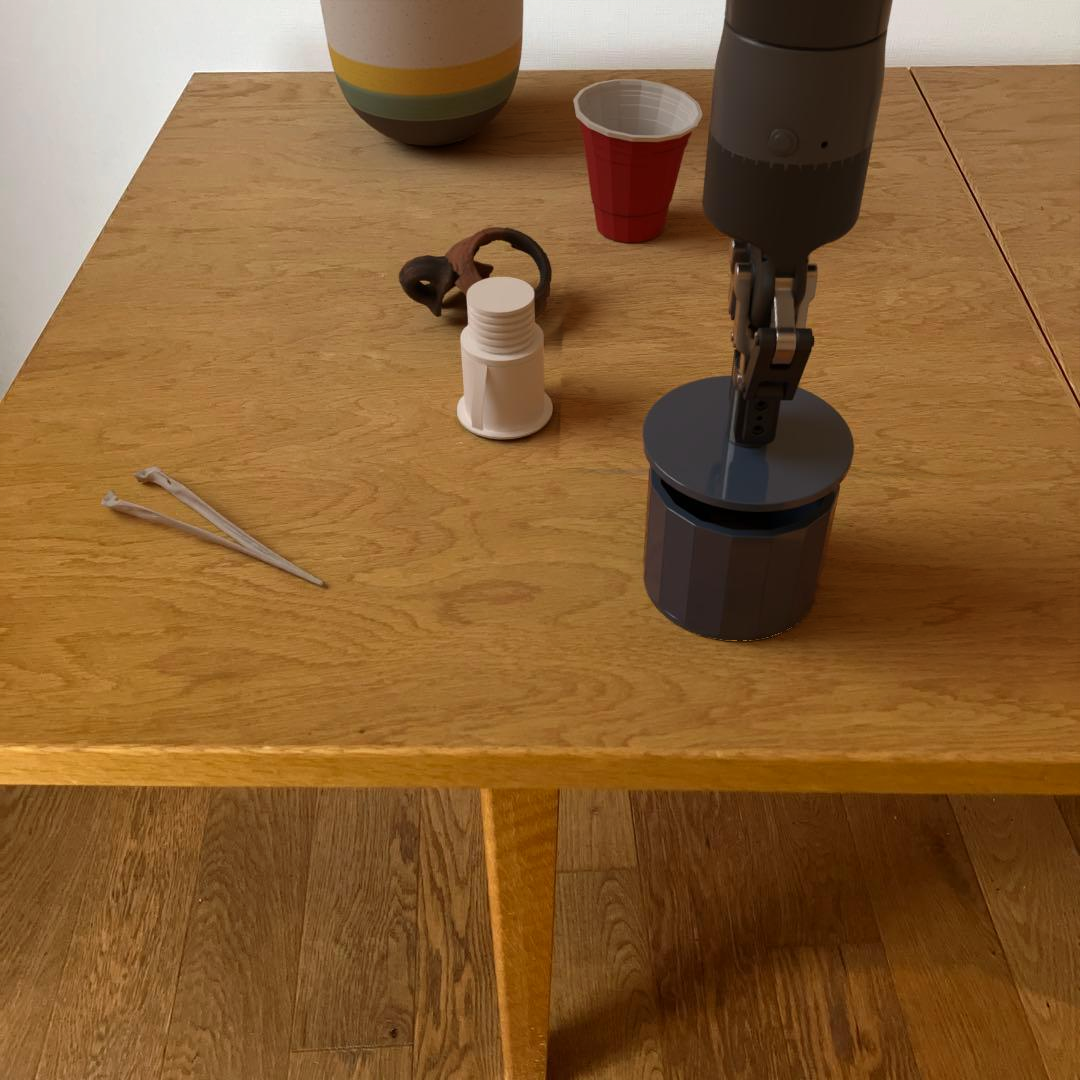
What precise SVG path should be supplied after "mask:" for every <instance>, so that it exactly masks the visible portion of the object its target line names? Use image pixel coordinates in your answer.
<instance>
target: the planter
mask: <svg viewBox="0 0 1080 1080" xmlns="http://www.w3.org/2000/svg"><path fill="white" fill-rule="evenodd" d="M319 3H320V9H321V15H322V20H323V26H324V32H325V37H326V43H327V49H328V52H329V57H330V62H331V66H332V69H333V72H334V75H335V78H336V81H337V84H338V86H339V88H340V90H341V93H342V94H343V97H344V98H345V100H346V102H347V103H348V104H349V106H350V107H351V109H352V110H353V112H354V113H355V114H356V115H357V116H358V117H359V118H361V120H363V122H365V123H366V124H367V125H368V126H370V127H371V128H372V129H374V130H376V131H377V132H378V133H380V134H382V135H384V136H385V137H387V138H389V139H392V140H394V141H397V142H400V143H402V144H403V143H404V144H408V145H413V146H425V147H432V146H444V145H449V144H454V143H457V142H460V141H462V140H465V139H468V138H469V137H472V136H473V135H476V134H477V133H478V132H480V131H481V130H482V129H484V128H485V127H486V126H488V125H489V124H490V123H491V122H492V121H493V120H494V119H495V118H496V117H497V116H498V115H499V114H500V113H501V112H502V111H503V109H504V108H505V106H506V105H507V104H508V102H509V100H510V98H511V96H512V94H513V91H514V89H515V86H516V83H517V79H518V75H519V71H520V66H521V60H522V52H523V40H524V39H523V38H524V37H523V35H524V0H319Z"/></svg>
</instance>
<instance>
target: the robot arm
mask: <svg viewBox="0 0 1080 1080" xmlns="http://www.w3.org/2000/svg"><path fill="white" fill-rule="evenodd" d="M893 2H894V0H725V7H724V9H725V10H724V19H723V26H722V31H721V37H720V41H719V45H718V49H717V53H716V57H715V63H714V71H713V78H712V89H711V90H712V91H711V100H710V101H711V102H710V111H709V123H708V131H707V132H708V133H707V146H706V155H705V168H704V177H703V178H704V179H703V189H702V198H701V199H702V200H701V201H702V204H701V205H702V209H703V213H704V215H705V218H706V219H707V220H708V222H709V223H710V225H712V226H713V227H714V228H715V229H716V230H717V231H719V232H720V233H721V234H723V235H725V236H727V237H728V238H730V241H729V248H728V249H729V250H728V260H729V268H730V269H729V270H730V280H729V287H728V293H727V302H728V314H729V315H730V321H733V324H732V331H730V337H729V340H730V342H731V343H732V344H731V345H732V348H733V357H732V368H731V373H730V375H731V382H730V391H729V403H730V396H731V388H732V380H733V371H734V363H735V360H736V359H737V357H738V356H740V355H741V359H740V369H739V373H737V383H739V388H738V396H737V404H736V412H735V420H734V428H733V431H734V438H735V440H736V442H738V443H740V444H769V443H771V442H772V441H773V440H774V439H775V435H776V428H777V422H778V415H779V409H780V402H781V400H793V398H794V395H795V393H796V390H797V387H799V385H800V382H801V379H802V377H803V374H804V371H805V369H806V366H807V363H808V361H809V358H810V356H811V353H812V351H813V350H812V349H813V347H815V335H813V329H812V328H811V327H807V319H808V311H809V305H810V303H811V302H812V301H813V300H814V299H815V296H816V290H817V284H818V272H819V269H818V264H817V263H816V262H815V263H814V262H810V258H811V254H812V253H813V252H815V251H816V250H817V249H819V248H821V247H823V246H825V245H827V244H831V243H834V242H836V241H838V240H840V239H842V238H843V237H845V235H846V236H847V234H849V232H850V231H852V229H853V228H854V227H855V225H856V224H857V223H858V220H859V216H860V213H861V207H862V201H863V196H864V191H865V190H864V189H865V185H866V181H867V180H866V179H867V175H868V170H869V164H870V160H871V159H870V158H871V153H872V148H873V144H874V143H873V142H874V138H875V137H874V136H875V130H876V126H877V121H878V115H879V110H880V104H881V100H882V95H883V90H884V89H883V88H884V81H885V70H886V69H885V68H886V50H887V49H886V47H887V37H888V31H889V30H888V27H889V23H890V19H891V13H892V8H893Z"/></svg>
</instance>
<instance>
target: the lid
mask: <svg viewBox="0 0 1080 1080" xmlns="http://www.w3.org/2000/svg"><path fill="white" fill-rule="evenodd" d="M740 359H741V355H740V356H738V357H737V359H736V360H735V363H734V371H733V380H732V388H731V396H730V403H729V391H730V382H731V374H730V375H717V376H710V377H705V378H699V379H696V380H693V381H689V382H687V383H684V384H682V385H679V386H678V387H675V388H673V389H671V390H670V391H668V392H666V393H665V394H664V395H662V396H661V397H660V398H659V399H658V400H656V402H655V403H654V404H653V405H652V406H651V408H650V409H649V410H648V412H647V414H646V415H645V418H644V421H643V425H642V433H641V434H642V435H641V436H642V437H641V444H642V450H643V453H644V455H645V458H646V460H647V462H648V463H649V464H650V465H651V467H652V468H653V469H654V471H655V472H656V473H657V474H658V475H659V476H660V477H661V478H662V479H663V480H664V481H665V482H666V483H668V484H669V485H670V486H672V487H673V488H675V489H676V490H678V491H680V492H681V493H683V494H685V495H687V496H689V497H691V498H693V499H696V500H698V501H700V502H704V503H707V504H710V505H713V506H717V507H721V508H726V509H731V510H738V511H750V512H770V511H779V510H787V509H791V508H796V507H800V506H803V505H806V504H809V503H812V502H814V501H816V500H818V499H820V498H822V497H824V496H825V495H827V494H829V493H830V492H832V491H833V490H834V489H835V488H836V487H837V486H838V485H839V484H840V485H841V484H842V482H843V481H844V480H845V478H846V477H847V475H848V474H849V472H850V470H851V467H852V464H853V459H854V456H855V442H854V437H853V434H852V431H851V429H850V426H849V425H848V423H847V421H846V420H845V418H844V417H843V416H842V415H841V414H840V412H839V411H838V410H836V408H835V407H833V406H832V404H829V402H827V401H826V400H824V399H823V398H821V397H820V396H818V395H816V394H815V393H813V392H811V391H809V390H806V389H805V388H802V387H800V386H798V387H797V390H796V393H795V395H794V398H793V400H781V402H780V409H779V415H778V422H777V428H776V435H775V439H774V440H773V441H772V442H771V443H769V444H740V443H738V442H736V440H735V438H734V431H733V428H734V420H735V412H736V404H737V396H738V388H739V383H737V373H739V369H740Z"/></svg>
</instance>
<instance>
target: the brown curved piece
mask: <svg viewBox="0 0 1080 1080" xmlns="http://www.w3.org/2000/svg"><path fill="white" fill-rule="evenodd" d="M495 241H502V242H506V243H509V244H510V245H511V246H510V248H512V249H515V250H517V251H520V252H523V253H525V254H527V255H528V256H529V257H531V258H532V260H533V261H534V263H535V264H536V267H537V269H538V271H539V283H538V284H537V286H536V288H534V289H533V290H534V308H535V321H536V320H538V319H539V317H541V315H542V314H543V313H544V311H545V310H546V308H547V307H548V305H549V304H548V298H550V296H551V282H552V280H553V278H552V277H553V275H552V274H553V273H552V272H553V271H552V266H551V262H550V259H549V258H548V255H547V253H546V251H544V249H543V248H542V246H541V245H540V244H539V243H538V242H537V241H536V240H535V239H533V238H532V237H531V236H530V235H528V234H526V233H523V232H522V231H519V230H517V229H514V228H510V227H500V226H493V227H487V228H483V229H482V230H479V231H477V232H475V233H474V234H473V235H471V236H468V237H466V238H464V239H462V240H460V241H457V242H456V243H455V244H453V246H451V247H450V249H449V250H448V251H447V252H446V253H445V254H444V255H441V256H437V255H430V254H426V255H421V256H416V257H414V258H412V259H409V260H407V261H406V262H405V263H404V264H403V266H402V267H401V269H400V272H399V273H398V282H399V284H400V286H401V289H402V290H403V292H404V293H405V295H406V296H408V297H409V298H410V299H412V301H414V302H416V303H418V304H420V305H423V306H425V307H427V308H428V309H429V311H430V312H431V314H432V315H433V316H435V317H436V318H439V317H441V316H442V307H443V301H444V298H445V296H446V294H447V293H449V292H450V291H451V290H452V289H454V288H455V287H457V288H458V289H459V290H460V291H461V292H462V293H463V294H464V296H465V297H466V298H467V291H468V289H469V288H470V287H471V286H472V285H473V284H475V283H476V282H478V281H481V280H483V279H487V278H490V276H491V274H492V273H493V271H494V269H495V267H494V265H492V264H489V263H484V262H480V261H477V260H475V256H476V255H477V254H478V252H479V251H480V248H481V247H486V246H487V245H490V244H491V243H493V242H495ZM423 282H429V283H426V284H425V283H423Z"/></svg>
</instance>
